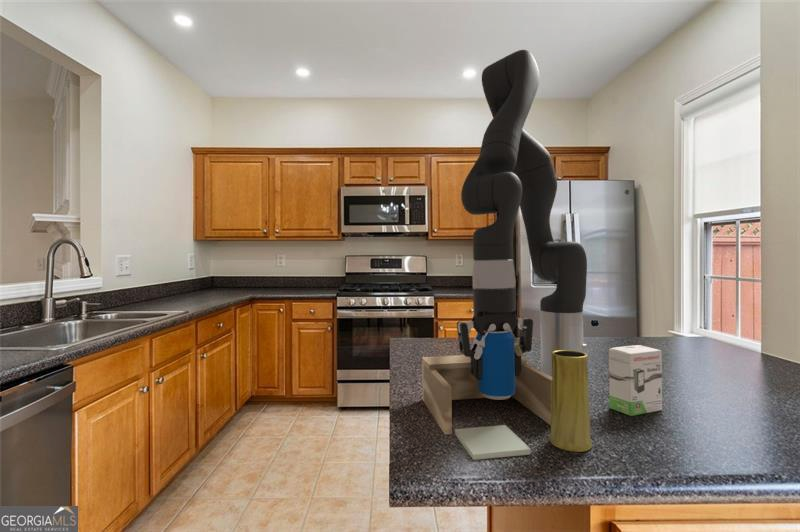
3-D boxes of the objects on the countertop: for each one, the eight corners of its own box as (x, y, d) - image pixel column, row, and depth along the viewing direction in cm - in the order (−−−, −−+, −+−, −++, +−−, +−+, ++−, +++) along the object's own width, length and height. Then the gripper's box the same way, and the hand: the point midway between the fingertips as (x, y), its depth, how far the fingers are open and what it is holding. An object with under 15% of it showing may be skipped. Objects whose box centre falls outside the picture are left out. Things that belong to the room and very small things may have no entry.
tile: (505, 429, 68) (505, 424, 68) (530, 454, 59) (530, 449, 59) (454, 433, 67) (454, 429, 67) (473, 459, 58) (473, 454, 58)
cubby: (513, 393, 87) (513, 352, 87) (557, 425, 70) (556, 374, 70) (422, 399, 83) (422, 357, 83) (445, 434, 66) (444, 381, 66)
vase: (543, 436, 65) (542, 349, 65) (578, 434, 66) (577, 348, 66) (561, 453, 59) (560, 358, 59) (600, 451, 60) (599, 357, 60)
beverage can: (517, 401, 68) (515, 332, 68) (479, 400, 69) (477, 332, 69) (513, 389, 74) (511, 325, 74) (478, 388, 76) (476, 325, 75)
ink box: (630, 417, 73) (629, 353, 73) (607, 408, 78) (607, 347, 77) (663, 410, 76) (663, 349, 76) (639, 402, 81) (639, 344, 80)
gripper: (520, 282, 77) (523, 368, 77) (449, 285, 74) (451, 374, 74) (541, 284, 69) (543, 379, 69) (462, 288, 67) (465, 387, 67)
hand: (496, 376), depth 72 cm, fingers closed on beverage can, 6 cm apart
